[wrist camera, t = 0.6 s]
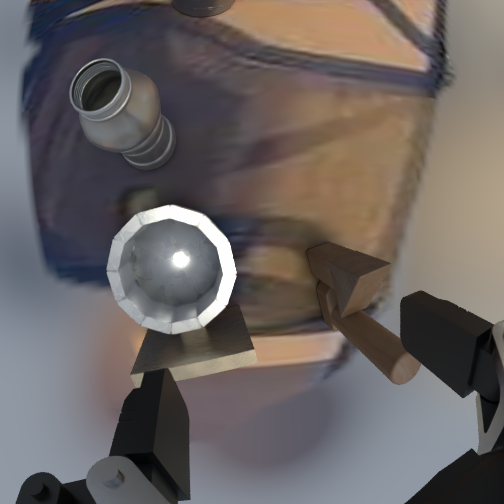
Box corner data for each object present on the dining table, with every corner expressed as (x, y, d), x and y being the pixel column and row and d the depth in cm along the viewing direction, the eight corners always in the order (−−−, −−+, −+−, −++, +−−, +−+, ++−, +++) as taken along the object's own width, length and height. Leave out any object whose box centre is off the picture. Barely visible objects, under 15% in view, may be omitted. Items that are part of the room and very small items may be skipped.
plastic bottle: (130, 177, 33) (50, 154, 13) (123, 125, 31) (51, 57, 12) (182, 166, 34) (154, 124, 14) (174, 113, 32) (146, 26, 13)
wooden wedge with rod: (330, 240, 38) (418, 271, 20) (346, 312, 40) (423, 375, 23) (304, 249, 38) (382, 289, 20) (323, 322, 40) (392, 393, 22)
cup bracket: (117, 220, 33) (78, 229, 22) (215, 195, 35) (220, 191, 23) (151, 335, 36) (134, 387, 25) (243, 315, 38) (259, 362, 26)
